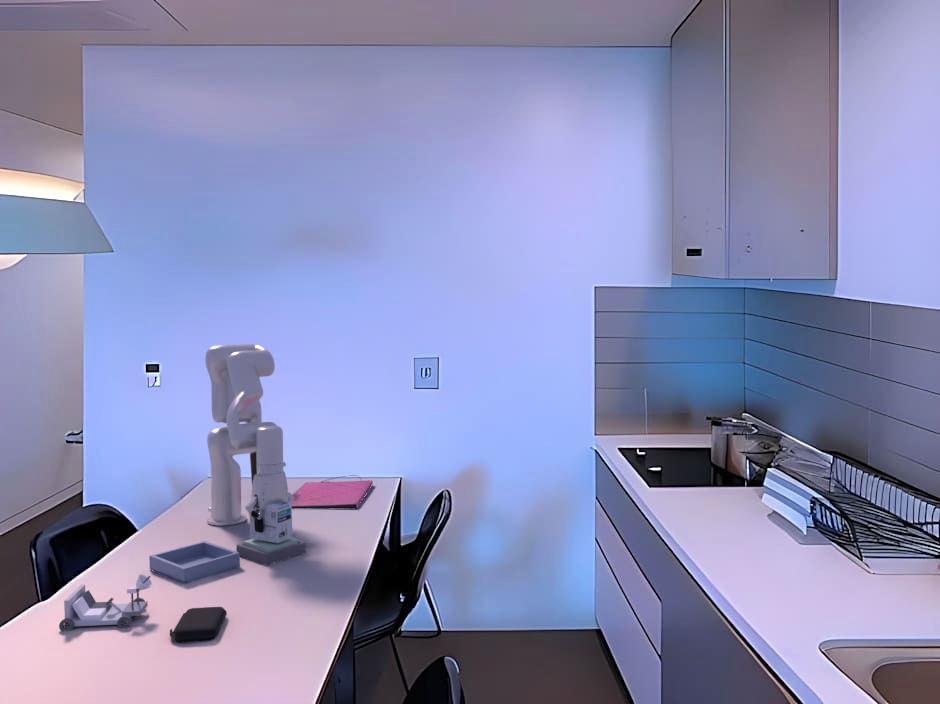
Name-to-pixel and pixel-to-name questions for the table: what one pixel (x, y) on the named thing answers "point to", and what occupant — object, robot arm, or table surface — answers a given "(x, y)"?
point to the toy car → (103, 608)
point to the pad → (269, 544)
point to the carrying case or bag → (199, 624)
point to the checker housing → (271, 553)
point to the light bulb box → (274, 523)
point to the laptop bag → (331, 494)
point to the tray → (194, 561)
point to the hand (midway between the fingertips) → (271, 528)
